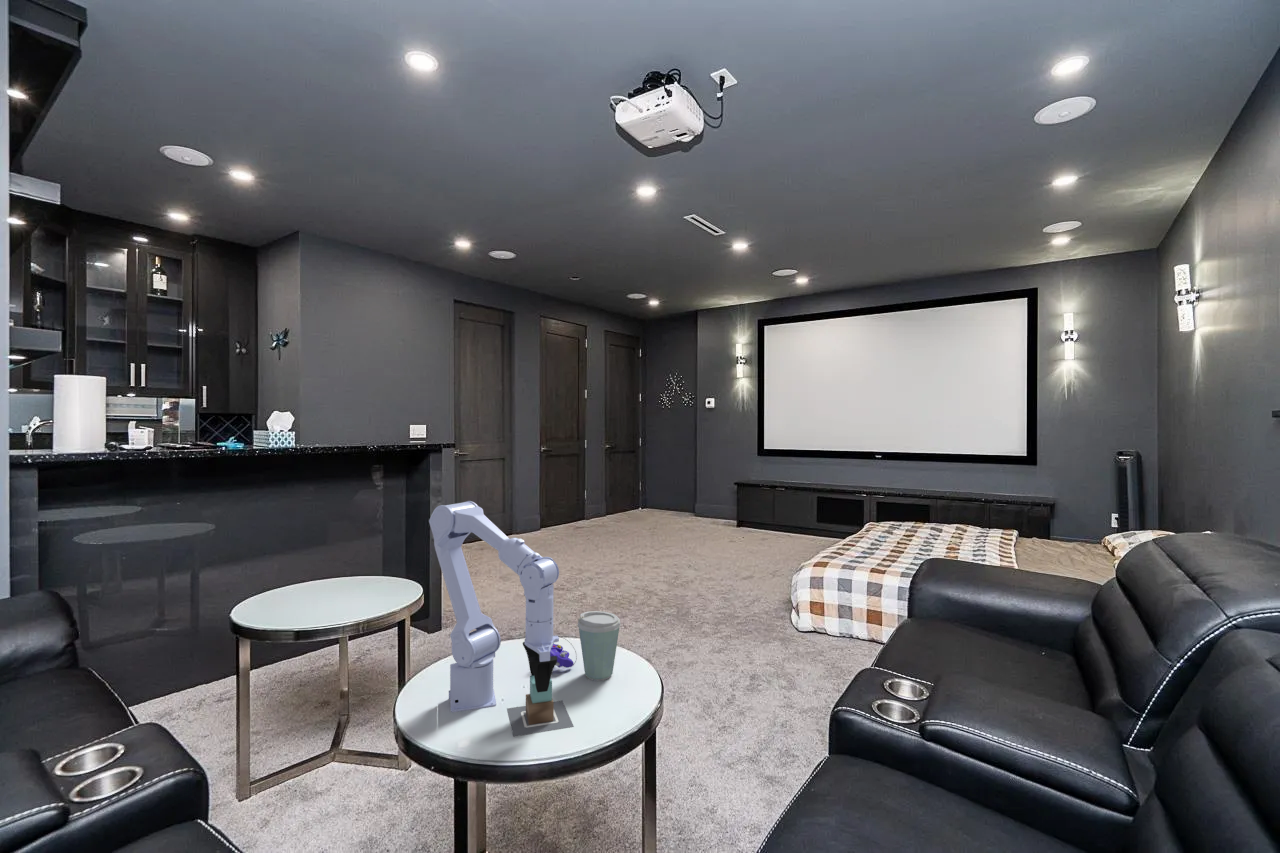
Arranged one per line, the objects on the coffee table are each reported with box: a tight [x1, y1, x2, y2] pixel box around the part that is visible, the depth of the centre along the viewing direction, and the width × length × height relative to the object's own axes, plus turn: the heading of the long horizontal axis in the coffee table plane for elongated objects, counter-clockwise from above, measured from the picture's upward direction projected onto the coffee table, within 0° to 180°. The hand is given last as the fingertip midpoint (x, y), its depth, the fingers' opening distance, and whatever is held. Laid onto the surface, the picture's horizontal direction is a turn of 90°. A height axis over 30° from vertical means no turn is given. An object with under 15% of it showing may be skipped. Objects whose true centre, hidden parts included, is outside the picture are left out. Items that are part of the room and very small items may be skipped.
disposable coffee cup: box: [577, 610, 621, 681], centre depth 143 cm, size 11×11×15 cm
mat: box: [506, 699, 574, 737], centre depth 122 cm, size 12×12×1 cm
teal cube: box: [529, 675, 553, 703], centre depth 122 cm, size 4×4×4 cm
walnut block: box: [525, 693, 555, 725], centre depth 122 cm, size 5×5×4 cm
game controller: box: [550, 635, 578, 669], centre depth 148 cm, size 10×8×10 cm
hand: (539, 683), depth 122 cm, fingers open, 7 cm apart
